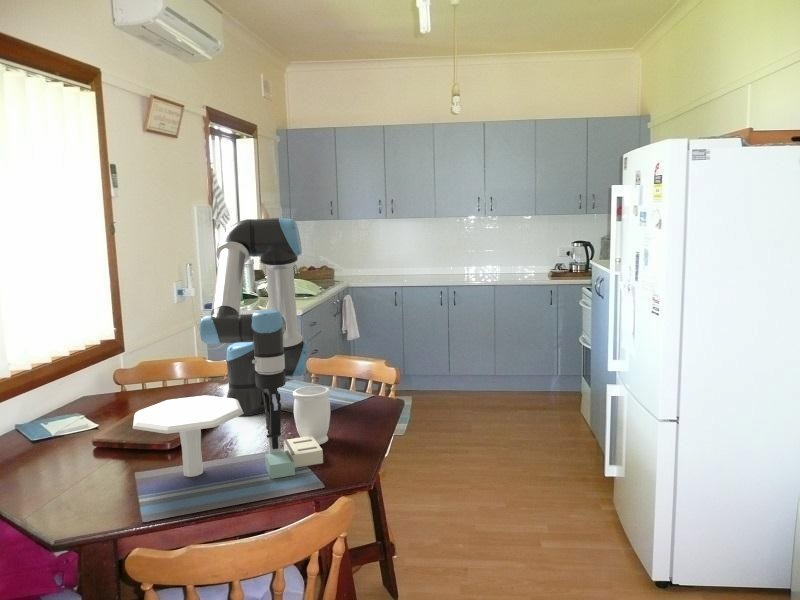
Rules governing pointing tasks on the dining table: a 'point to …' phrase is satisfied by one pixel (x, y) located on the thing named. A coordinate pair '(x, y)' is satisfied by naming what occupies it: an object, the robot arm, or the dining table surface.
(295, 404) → the jar
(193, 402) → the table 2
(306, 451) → the cream slotted block
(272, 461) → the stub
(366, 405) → the dining table surface
